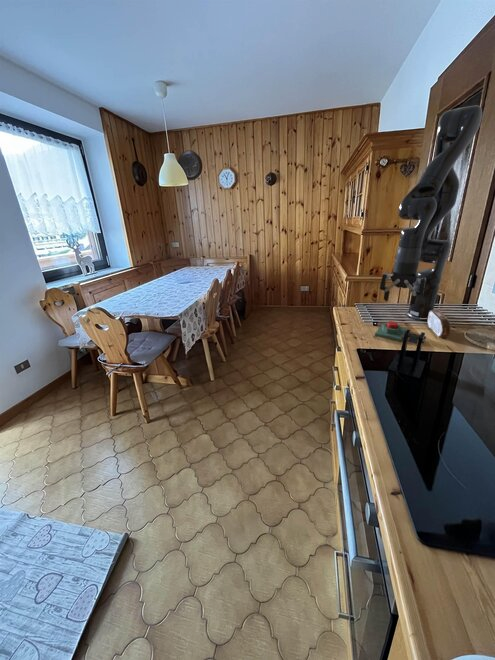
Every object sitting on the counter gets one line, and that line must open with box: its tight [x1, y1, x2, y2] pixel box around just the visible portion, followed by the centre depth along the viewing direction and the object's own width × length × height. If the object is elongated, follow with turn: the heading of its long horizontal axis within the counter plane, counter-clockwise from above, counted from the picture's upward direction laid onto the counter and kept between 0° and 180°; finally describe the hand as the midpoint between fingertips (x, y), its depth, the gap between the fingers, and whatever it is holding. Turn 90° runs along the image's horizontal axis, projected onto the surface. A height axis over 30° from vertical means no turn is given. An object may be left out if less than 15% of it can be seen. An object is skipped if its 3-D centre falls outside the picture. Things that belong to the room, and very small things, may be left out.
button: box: [386, 320, 399, 329], centre depth 111 cm, size 4×4×2 cm
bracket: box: [387, 328, 427, 379], centre depth 90 cm, size 11×9×13 cm
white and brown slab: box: [426, 308, 451, 339], centre depth 111 cm, size 15×3×8 cm, turn 168°
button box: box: [374, 322, 408, 343], centre depth 112 cm, size 11×9×4 cm
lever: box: [408, 332, 427, 345], centre depth 92 cm, size 13×5×2 cm, turn 143°
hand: (398, 302), depth 106 cm, fingers open, 8 cm apart
